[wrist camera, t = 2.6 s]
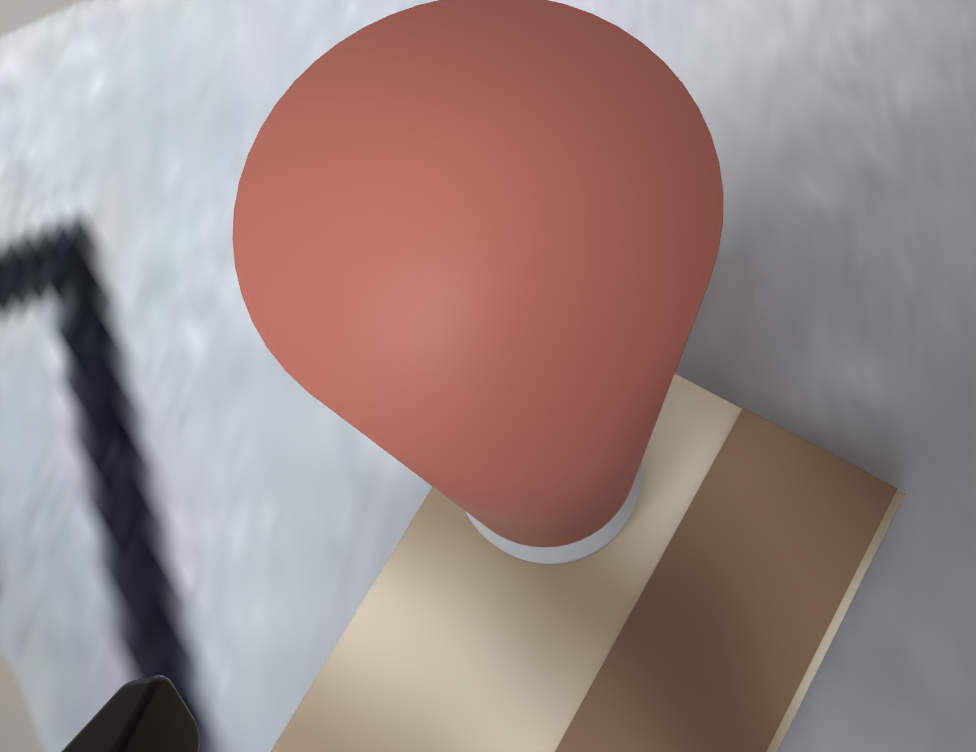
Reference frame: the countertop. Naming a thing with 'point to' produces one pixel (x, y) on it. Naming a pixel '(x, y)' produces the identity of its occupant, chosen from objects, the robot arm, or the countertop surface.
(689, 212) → the pink cylinder white base
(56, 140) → the countertop surface
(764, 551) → the board
